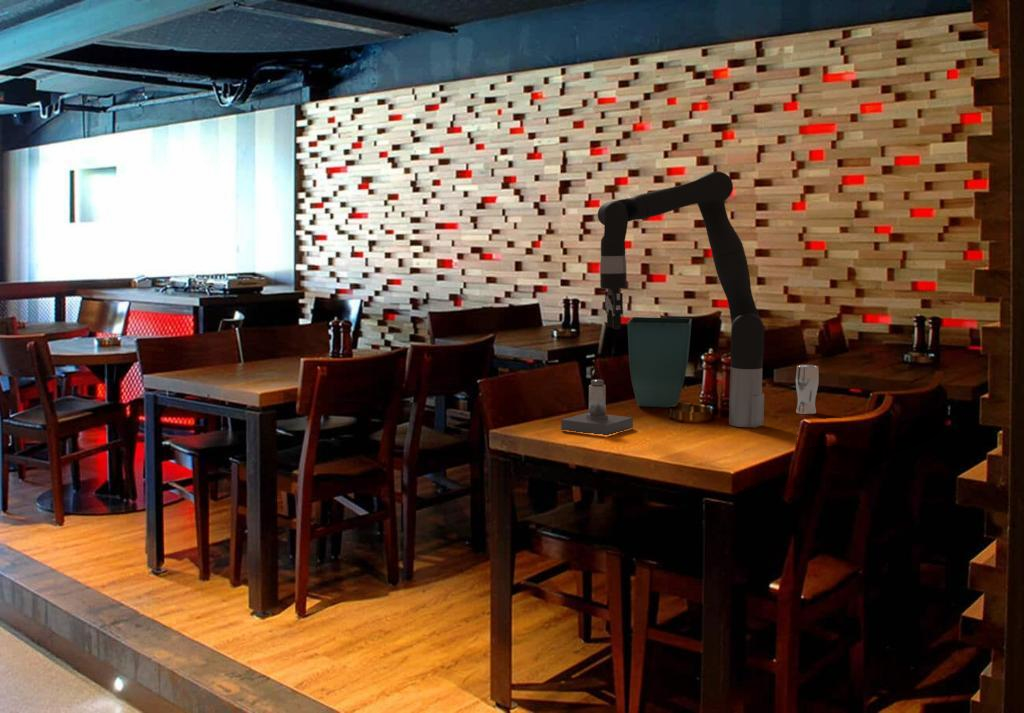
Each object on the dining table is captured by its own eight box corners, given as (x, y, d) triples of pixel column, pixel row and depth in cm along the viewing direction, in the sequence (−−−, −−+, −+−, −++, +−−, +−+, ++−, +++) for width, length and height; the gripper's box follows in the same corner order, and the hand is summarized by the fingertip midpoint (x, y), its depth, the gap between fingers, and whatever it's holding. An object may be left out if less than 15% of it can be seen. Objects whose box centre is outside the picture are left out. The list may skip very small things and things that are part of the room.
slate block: (632, 431, 296) (633, 417, 295) (606, 439, 284) (606, 425, 283) (588, 425, 304) (588, 412, 304) (561, 433, 292) (561, 419, 292)
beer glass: (815, 411, 327) (816, 364, 325) (819, 414, 320) (821, 367, 319) (792, 410, 328) (794, 364, 326) (796, 414, 321) (798, 367, 319)
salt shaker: (607, 419, 292) (608, 381, 290) (590, 420, 291) (591, 382, 289) (603, 416, 297) (603, 378, 295) (586, 416, 296) (586, 379, 294)
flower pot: (688, 410, 327) (690, 322, 324) (625, 408, 331) (627, 321, 328) (689, 401, 347) (691, 318, 343) (631, 399, 351) (632, 317, 347)
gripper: (631, 272, 286) (632, 329, 288) (621, 270, 300) (621, 325, 302) (605, 272, 286) (605, 330, 287) (595, 271, 300) (596, 326, 302)
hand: (613, 328), depth 295 cm, fingers open, 8 cm apart
